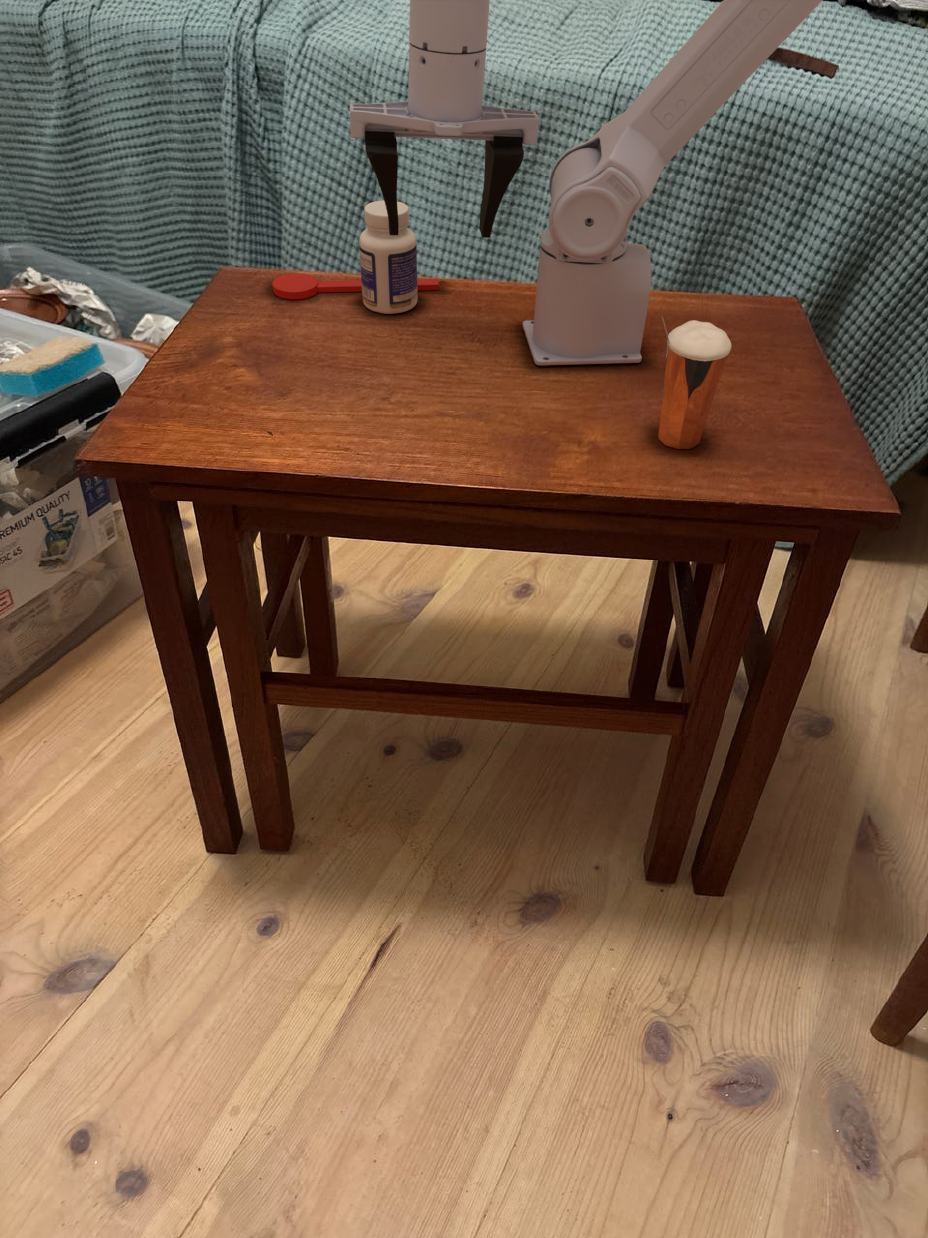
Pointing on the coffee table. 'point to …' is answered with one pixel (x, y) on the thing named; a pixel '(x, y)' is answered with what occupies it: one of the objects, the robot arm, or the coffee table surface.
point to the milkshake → (690, 381)
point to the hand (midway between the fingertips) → (439, 231)
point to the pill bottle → (388, 261)
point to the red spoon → (326, 286)
